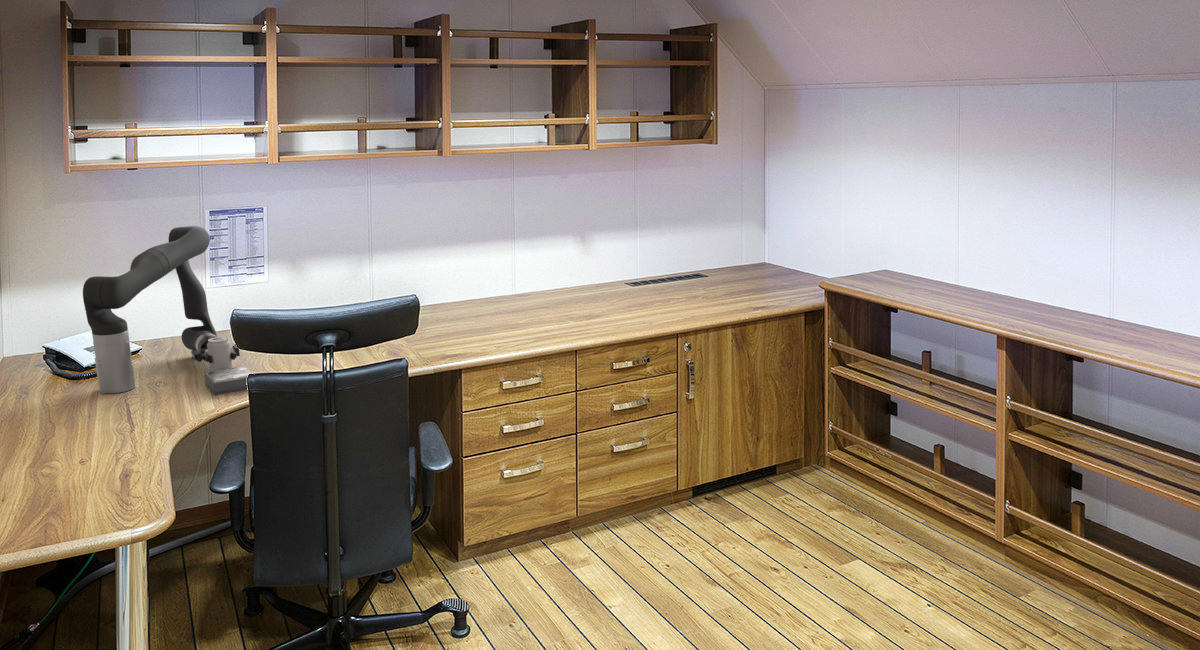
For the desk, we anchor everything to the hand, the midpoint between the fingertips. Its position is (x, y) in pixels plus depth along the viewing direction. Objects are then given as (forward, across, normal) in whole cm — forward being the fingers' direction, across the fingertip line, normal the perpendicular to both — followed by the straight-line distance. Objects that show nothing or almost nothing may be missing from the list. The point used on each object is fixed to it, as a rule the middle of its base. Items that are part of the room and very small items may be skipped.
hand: (222, 358), depth 284 cm
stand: (+10, 0, +6) cm, 12 cm away
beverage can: (-2, 0, +7) cm, 7 cm away
